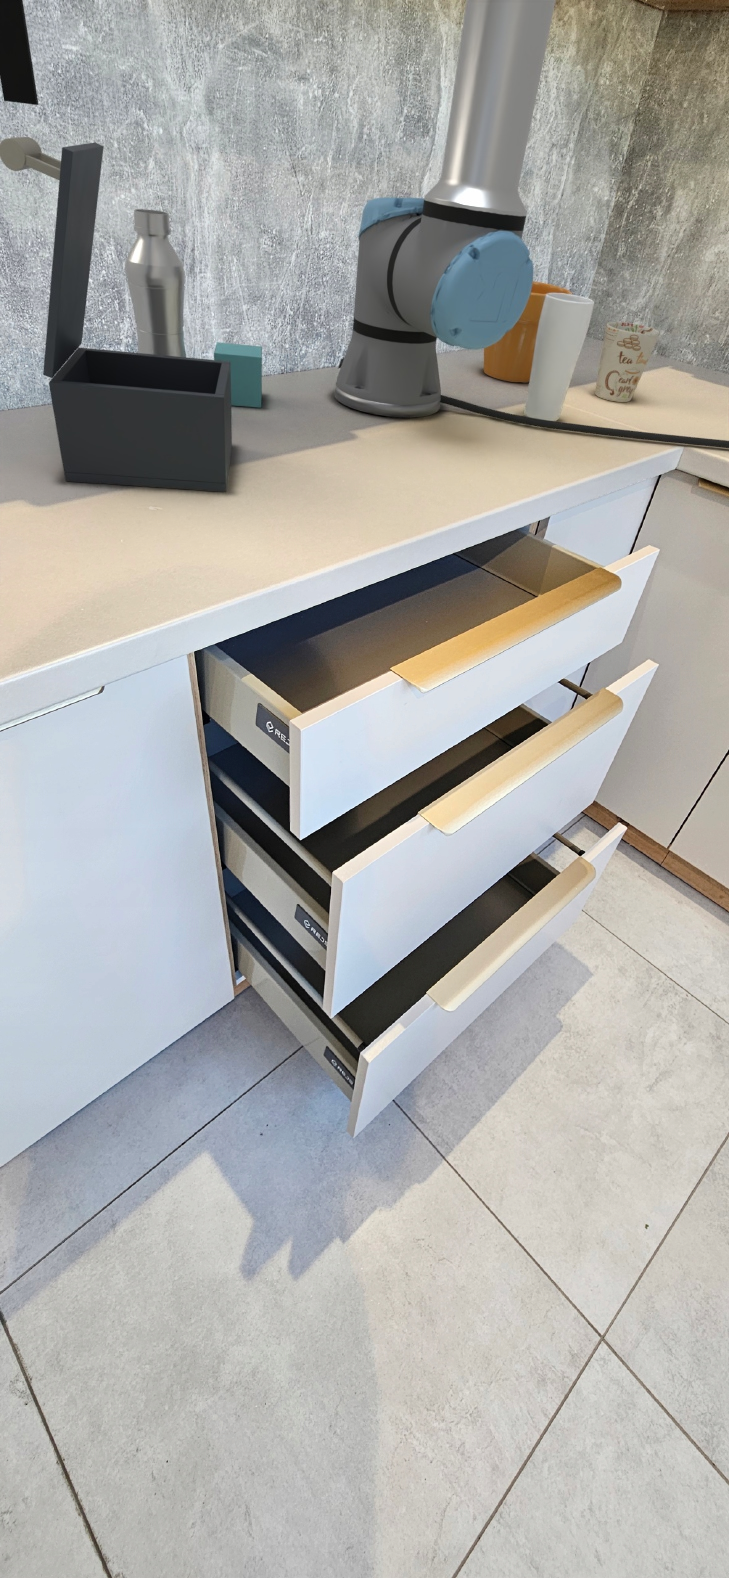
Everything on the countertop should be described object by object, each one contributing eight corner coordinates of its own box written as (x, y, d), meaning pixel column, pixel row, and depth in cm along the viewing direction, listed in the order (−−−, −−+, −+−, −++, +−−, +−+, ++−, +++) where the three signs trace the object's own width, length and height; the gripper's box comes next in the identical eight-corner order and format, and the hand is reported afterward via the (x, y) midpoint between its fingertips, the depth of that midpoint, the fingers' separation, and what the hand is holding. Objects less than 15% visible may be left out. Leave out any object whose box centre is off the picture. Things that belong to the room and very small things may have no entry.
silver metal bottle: (182, 423, 89) (169, 218, 76) (129, 414, 90) (108, 209, 77) (201, 410, 94) (192, 214, 81) (151, 401, 95) (134, 205, 81)
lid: (103, 146, 67) (31, 113, 65) (72, 152, 56) (-15, 112, 55) (81, 344, 77) (18, 320, 75) (52, 378, 67) (-22, 352, 65)
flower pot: (551, 374, 130) (572, 287, 122) (548, 392, 120) (571, 299, 111) (473, 360, 132) (489, 273, 123) (463, 378, 121) (480, 284, 113)
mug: (584, 397, 120) (603, 326, 113) (595, 382, 129) (613, 316, 122) (634, 407, 118) (657, 336, 112) (642, 391, 127) (664, 325, 121)
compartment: (232, 447, 85) (230, 361, 79) (226, 492, 75) (223, 397, 69) (90, 436, 83) (78, 347, 77) (65, 481, 73) (48, 382, 67)
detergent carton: (261, 395, 102) (262, 346, 98) (261, 408, 98) (261, 357, 94) (217, 391, 101) (216, 342, 97) (215, 404, 97) (213, 352, 93)
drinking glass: (514, 418, 106) (541, 296, 96) (522, 407, 111) (549, 290, 101) (559, 428, 105) (592, 305, 95) (566, 417, 110) (598, 299, 100)
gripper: (-78, -298, 54) (-6, 98, 68) (-259, -508, 35) (-109, 94, 50) (30, -278, 55) (78, 108, 69) (-93, -472, 36) (7, 108, 51)
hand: (0, 103), depth 59 cm, fingers open, 13 cm apart
